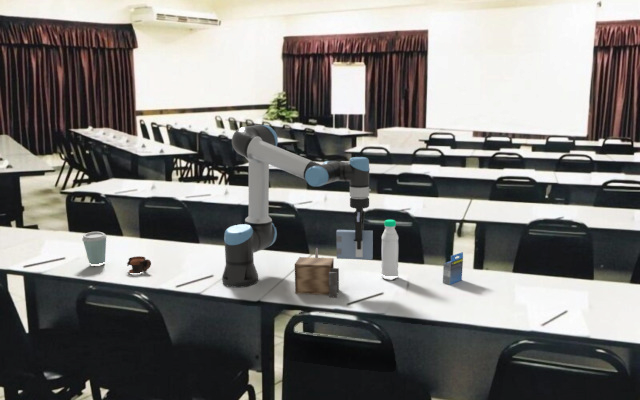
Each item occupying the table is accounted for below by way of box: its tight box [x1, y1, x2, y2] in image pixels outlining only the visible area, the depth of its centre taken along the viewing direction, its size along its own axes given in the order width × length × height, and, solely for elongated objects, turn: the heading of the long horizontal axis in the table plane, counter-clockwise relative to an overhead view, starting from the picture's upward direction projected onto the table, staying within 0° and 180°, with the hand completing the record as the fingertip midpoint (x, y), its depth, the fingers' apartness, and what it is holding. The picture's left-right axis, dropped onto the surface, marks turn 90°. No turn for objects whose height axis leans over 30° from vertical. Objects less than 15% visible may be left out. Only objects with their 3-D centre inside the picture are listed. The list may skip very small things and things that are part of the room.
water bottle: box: [380, 219, 399, 277], centre depth 258 cm, size 7×7×25 cm
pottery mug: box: [126, 255, 152, 274], centre depth 274 cm, size 12×10×8 cm
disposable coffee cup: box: [82, 231, 107, 264], centre depth 284 cm, size 11×11×15 cm
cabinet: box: [294, 256, 340, 299], centre depth 243 cm, size 17×13×12 cm
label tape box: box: [442, 251, 464, 286], centre depth 253 cm, size 9×4×12 cm, turn 134°
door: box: [335, 229, 374, 261], centre depth 242 cm, size 14×3×11 cm, turn 81°
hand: (359, 255), depth 242 cm, fingers closed on door, 3 cm apart
